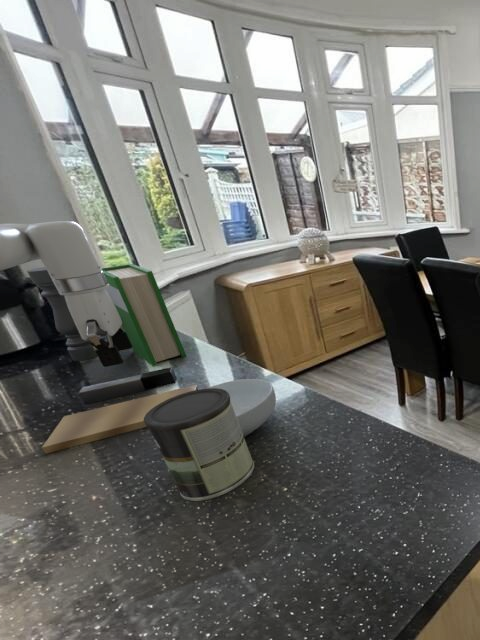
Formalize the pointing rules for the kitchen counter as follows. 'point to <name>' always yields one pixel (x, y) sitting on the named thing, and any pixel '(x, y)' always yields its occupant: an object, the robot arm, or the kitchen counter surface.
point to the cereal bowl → (250, 402)
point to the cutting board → (105, 421)
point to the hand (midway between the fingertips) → (119, 356)
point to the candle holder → (62, 316)
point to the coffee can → (201, 443)
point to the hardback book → (143, 313)
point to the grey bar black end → (128, 385)
